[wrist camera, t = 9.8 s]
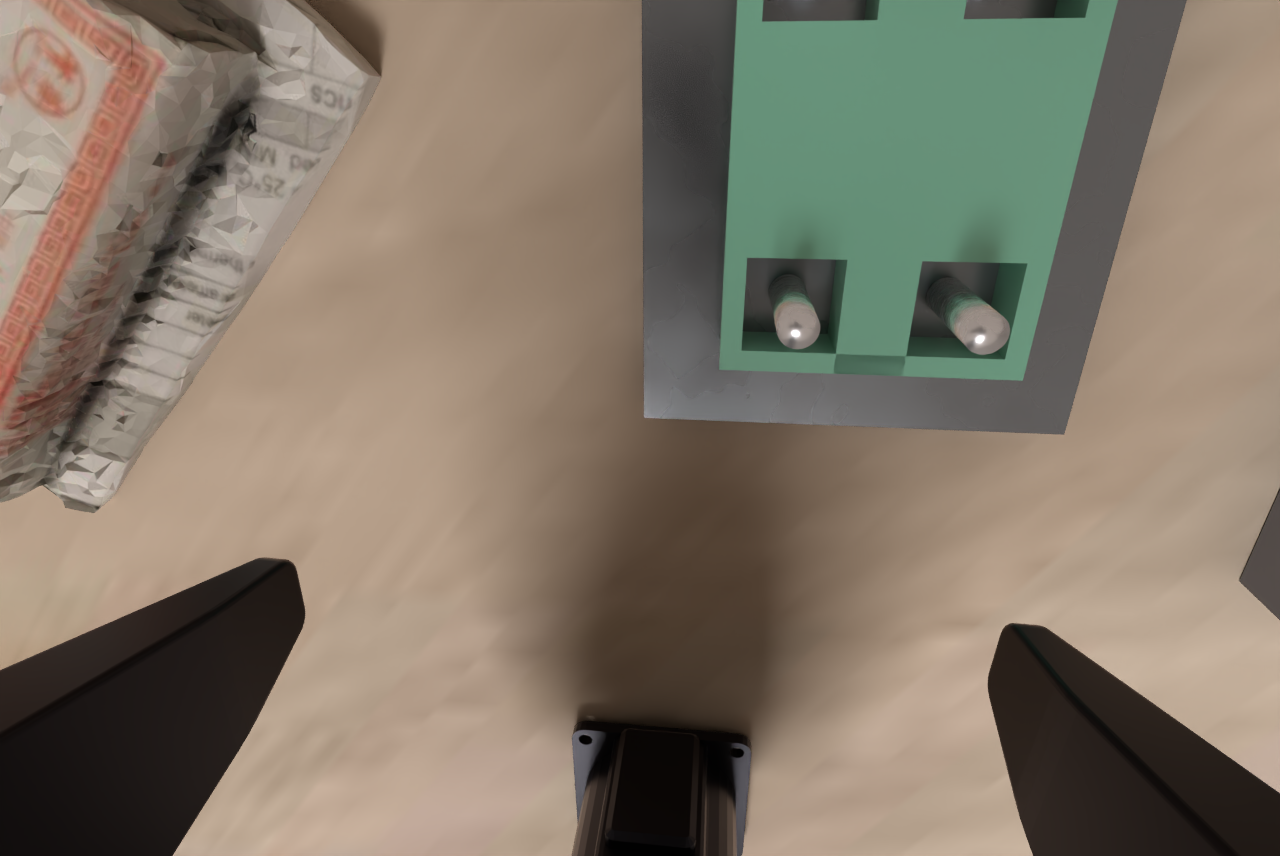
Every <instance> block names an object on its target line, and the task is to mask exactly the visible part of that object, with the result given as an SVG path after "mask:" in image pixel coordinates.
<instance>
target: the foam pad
mask: <svg viewBox="0 0 1280 856" xmlns="http://www.w3.org/2000/svg"><path fill="white" fill-rule="evenodd" d="M1239 581H1240V582H1241V583H1242V584H1243V585H1244V586H1245V587H1246V588H1247V589H1248V590H1249V591H1250V592H1251V593H1252V594H1253V595H1254V596H1255V597H1256V598H1257V599H1258V600H1259V601H1260V602H1262V603H1263V604H1264V605H1265V606H1266V607H1267V608H1268V609H1269V610H1270V611H1271V612H1272V613H1273V614H1274V615H1275V616H1276V617H1277V618H1278V619H1279V620H1280V491H1279V493H1278V495H1277V498H1276V500H1275V502H1274V504H1273V507H1272V509H1271V511H1270V513H1269V516H1268V518H1267V520H1266V522H1265V524H1264V527H1263V529H1262V531H1261V533H1260V536H1259V538H1258V540H1257V542H1256V545H1255V547H1254V549H1253V551H1252V554H1251V556H1250V558H1249V560H1248V563H1247V565H1246V567H1245V569H1244V572H1243V574H1242V576H1241V578H1240V580H1239Z"/></svg>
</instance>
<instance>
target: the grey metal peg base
mask: <svg viewBox="0 0 1280 856" xmlns="http://www.w3.org/2000/svg"><path fill="white" fill-rule="evenodd" d="M1186 1H1187V0H1118V2H1117V6H1116V10H1115V14H1114V18H1113V22H1112V26H1111V30H1110V34H1109V38H1108V42H1107V46H1106V50H1105V54H1104V58H1103V62H1102V66H1101V70H1100V74H1099V78H1098V82H1097V86H1096V90H1095V94H1094V98H1093V102H1092V106H1091V110H1090V114H1089V118H1088V122H1087V126H1086V130H1085V134H1084V138H1083V142H1082V146H1081V150H1080V154H1079V158H1078V162H1077V166H1076V170H1075V174H1074V178H1073V182H1072V186H1071V190H1070V194H1069V198H1068V202H1067V206H1066V210H1065V214H1064V218H1063V222H1062V226H1061V230H1060V234H1059V238H1058V242H1057V246H1056V250H1055V254H1054V258H1053V262H1052V266H1051V270H1050V274H1049V278H1048V282H1047V286H1046V290H1045V294H1044V298H1043V302H1042V306H1041V310H1040V314H1039V318H1038V322H1037V326H1036V330H1035V334H1034V338H1033V342H1032V346H1031V350H1030V354H1029V358H1028V362H1027V366H1026V370H1025V374H1024V378H1023V381H1018V380H991V379H963V378H935V377H908V376H880V375H853V374H825V373H797V372H770V371H742V370H719V358H720V332H721V312H722V291H723V271H724V251H725V230H726V210H727V189H728V169H729V148H730V128H731V107H732V87H733V66H734V46H735V25H736V5H737V0H642V100H643V311H644V418H660V419H685V420H711V421H736V422H761V423H787V424H812V425H837V426H862V427H888V428H913V429H938V430H964V431H989V432H1014V433H1040V434H1064V433H1065V430H1066V426H1067V422H1068V419H1069V415H1070V412H1071V408H1072V405H1073V401H1074V398H1075V394H1076V391H1077V387H1078V383H1079V380H1080V376H1081V373H1082V369H1083V366H1084V362H1085V359H1086V355H1087V352H1088V348H1089V344H1090V341H1091V337H1092V334H1093V330H1094V327H1095V323H1096V320H1097V316H1098V313H1099V309H1100V306H1101V302H1102V298H1103V295H1104V291H1105V288H1106V284H1107V281H1108V277H1109V274H1110V270H1111V267H1112V263H1113V259H1114V256H1115V252H1116V249H1117V245H1118V242H1119V238H1120V235H1121V231H1122V228H1123V224H1124V220H1125V217H1126V213H1127V210H1128V206H1129V203H1130V199H1131V196H1132V192H1133V189H1134V185H1135V181H1136V178H1137V174H1138V171H1139V167H1140V164H1141V160H1142V157H1143V153H1144V150H1145V146H1146V143H1147V139H1148V135H1149V132H1150V128H1151V125H1152V121H1153V118H1154V114H1155V111H1156V107H1157V104H1158V100H1159V96H1160V93H1161V89H1162V86H1163V82H1164V79H1165V75H1166V72H1167V68H1168V65H1169V61H1170V57H1171V54H1172V50H1173V47H1174V43H1175V40H1176V36H1177V33H1178V29H1179V26H1180V22H1181V18H1182V15H1183V11H1184V8H1185V4H1186ZM866 2H867V0H763V14H762V22H776V21H858V20H864V19H865V11H866ZM1056 4H1057V0H967V1H966V7H965V13H964V19H1023V18H1054V13H1055V9H1056ZM835 266H836V259H787V258H747V269H746V285H745V301H744V317H743V331H746V332H777V335H778V338H779V340H780V341H781V342H782V343H783V344H784V345H785V346H787V347H789V348H792V349H803V348H806V347H808V346H810V345H811V344H813V343H814V342H815V341H816V339H817V338H818V336H819V334H828V326H829V317H830V309H831V300H832V292H833V283H834V275H835ZM999 266H1000V263H982V262H933V261H922V266H921V272H920V278H919V284H918V289H917V295H916V301H915V307H914V313H913V319H912V325H911V331H910V337H941V338H958V339H959V340H960V341H961V342H962V343H963V344H964V345H965V346H966V347H967V348H968V349H969V350H970V351H971V352H973V353H976V354H981V355H985V354H990V353H993V352H995V351H997V350H999V349H1000V348H1001V347H1002V346H1003V345H1004V344H1005V343H1006V342H1007V340H1008V338H1009V335H1010V326H1009V323H1008V321H1007V320H1006V319H1005V318H1004V317H1003V316H1002V315H1001V314H1000V313H998V312H997V311H996V310H995V309H993V308H992V307H991V302H992V298H993V293H994V289H995V284H996V279H997V275H998V270H999Z"/></svg>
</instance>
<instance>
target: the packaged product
mask: <svg viewBox="0 0 1280 856" xmlns="http://www.w3.org/2000/svg"><path fill="white" fill-rule="evenodd" d="M380 79H381V76H380V75H379V74H378V73H377V72H376V71H375V69H374V68H373V67H372V66H371V65H370V64H369V63H368V61H367V60H366V59H365V58H364V57H363V56H362V55H361V54H360V53H359V52H358V51H357V50H356V49H355V48H354V47H353V46H352V45H351V44H350V43H349V42H348V41H347V40H346V39H345V38H344V37H343V36H342V35H341V34H340V33H339V32H338V31H337V30H336V29H335V28H334V27H333V26H332V25H331V24H330V23H329V22H327V21H326V20H325V19H324V18H323V17H322V16H321V15H320V14H319V13H318V12H317V11H315V10H314V9H313V8H312V7H311V6H310V5H309V4H308V3H307V2H306V1H304V0H0V502H4V501H8V500H11V499H14V498H17V497H19V496H21V495H23V494H25V493H27V492H29V491H31V490H33V489H35V488H36V487H38V486H41V485H43V486H44V487H46V488H47V489H48V490H50V491H51V492H53V493H54V494H55V495H57V496H58V497H59V498H60V499H61V500H62V501H63V502H64V505H65V508H70V509H74V510H79V511H84V512H91V513H95V512H96V511H97V510H98V509H100V508H101V507H102V506H103V505H104V504H105V503H106V502H108V501H109V500H110V499H111V498H112V497H113V496H114V495H115V494H116V492H117V491H118V489H119V488H120V486H121V484H122V483H123V481H124V480H125V478H126V477H127V475H128V473H129V472H130V470H131V469H132V467H133V465H134V464H135V462H136V461H137V459H138V457H139V456H140V454H141V452H142V450H143V448H144V446H145V445H146V444H147V442H148V441H149V440H150V438H151V437H152V436H153V435H154V433H155V432H156V431H157V429H158V428H159V427H160V425H161V424H162V423H163V421H164V420H165V419H166V417H167V416H168V415H169V413H170V412H171V411H172V409H173V408H174V407H175V405H176V404H177V403H178V401H179V400H180V399H181V397H182V396H183V395H184V393H185V392H186V391H187V389H188V388H189V386H190V385H191V384H192V382H193V379H194V378H195V376H196V375H197V373H198V372H199V370H200V369H201V368H202V366H203V365H204V363H205V362H206V360H207V359H208V357H209V356H210V354H211V353H212V351H213V350H214V348H215V347H216V346H217V344H218V343H219V341H220V340H221V338H222V337H223V335H224V334H225V332H226V331H227V330H228V328H229V327H230V325H231V324H232V323H233V321H234V320H235V318H236V317H237V316H238V314H239V313H240V311H241V310H242V308H243V307H244V305H245V304H246V302H247V301H248V299H249V298H250V296H251V295H252V293H253V292H254V290H255V288H256V287H257V285H258V284H259V282H260V281H261V279H262V278H263V276H264V275H265V273H266V272H267V270H268V269H269V267H270V265H271V263H272V262H273V260H274V258H275V257H276V255H277V254H278V253H279V251H280V250H281V248H282V247H283V245H284V244H285V242H286V241H287V239H288V238H289V236H290V235H291V233H292V231H293V230H294V228H295V226H296V225H297V223H298V222H299V220H300V218H301V217H302V215H303V213H304V212H305V210H306V208H307V207H308V205H309V203H310V202H311V200H312V198H313V197H314V195H315V193H316V192H317V190H318V188H319V187H320V185H321V183H322V182H323V180H324V178H325V177H326V175H327V173H328V172H329V170H330V168H331V167H332V165H333V163H334V162H335V160H336V158H337V157H338V155H339V153H340V152H341V150H342V148H343V147H344V145H345V143H346V142H347V140H348V138H349V137H350V135H351V133H352V132H353V130H354V128H355V127H356V125H357V123H358V122H359V120H360V118H361V116H362V115H363V113H364V111H365V110H366V108H367V106H368V104H369V102H370V100H371V98H372V96H373V94H374V92H375V89H376V87H377V85H378V83H379V81H380Z"/></svg>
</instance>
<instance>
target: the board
mask: <svg viewBox="0 0 1280 856" xmlns="http://www.w3.org/2000/svg"><path fill="white" fill-rule="evenodd" d="M966 1H967V0H867V2H866V11H865V19H864V20H858V21H776V22H762V14H763V0H737V5H736V25H735V46H734V66H733V87H732V107H731V128H730V148H729V169H728V189H727V210H726V230H725V251H724V271H723V291H722V312H721V332H720V358H719V370H742V371H770V372H797V373H825V374H853V375H880V376H908V377H935V378H963V379H991V380H1018V381H1023V378H1024V374H1025V370H1026V366H1027V362H1028V358H1029V354H1030V350H1031V346H1032V342H1033V338H1034V334H1035V330H1036V326H1037V322H1038V318H1039V314H1040V310H1041V306H1042V302H1043V298H1044V294H1045V290H1046V286H1047V282H1048V278H1049V274H1050V270H1051V266H1052V262H1053V258H1054V254H1055V250H1056V246H1057V242H1058V238H1059V234H1060V230H1061V226H1062V222H1063V218H1064V214H1065V210H1066V206H1067V202H1068V198H1069V194H1070V190H1071V186H1072V182H1073V178H1074V174H1075V170H1076V166H1077V162H1078V158H1079V154H1080V150H1081V146H1082V142H1083V138H1084V134H1085V130H1086V126H1087V122H1088V118H1089V114H1090V110H1091V106H1092V102H1093V98H1094V94H1095V90H1096V86H1097V82H1098V78H1099V74H1100V70H1101V66H1102V62H1103V58H1104V54H1105V50H1106V46H1107V42H1108V38H1109V34H1110V30H1111V26H1112V22H1113V18H1114V14H1115V10H1116V6H1117V2H1118V0H1057V4H1056V9H1055V13H1054V18H1023V19H964V13H965V7H966ZM747 258H787V259H836V266H835V275H834V283H833V292H832V300H831V309H830V317H829V326H828V334H819V336H818V338H817V339H816V341H815V342H814V343H813V344H811V345H810V346H808V347H806V348H803V349H792V348H789V347H787V346H785V345H784V344H783V343H782V342H781V341H780V340H779V338H778V335H777V332H746V331H743V317H744V301H745V285H746V269H747ZM922 261H933V262H982V263H1000V266H999V270H998V275H997V279H996V284H995V289H994V293H993V298H992V302H991V307H992V308H993V309H995V310H996V311H997V312H998V313H1000V314H1001V315H1002V316H1003V317H1004V318H1005V319H1006V320H1007V321H1008V323H1009V326H1010V335H1009V338H1008V340H1007V342H1006V343H1005V344H1004V345H1003V346H1002V347H1001V348H1000V349H999V350H997V351H995V352H993V353H990V354H985V355H981V354H976V353H973V352H971V351H970V350H969V349H968V348H967V347H966V346H965V345H964V344H963V343H962V342H961V341H960V340H959V339H958V338H941V337H910V331H911V325H912V319H913V313H914V307H915V301H916V295H917V289H918V284H919V278H920V272H921V266H922Z"/></svg>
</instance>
